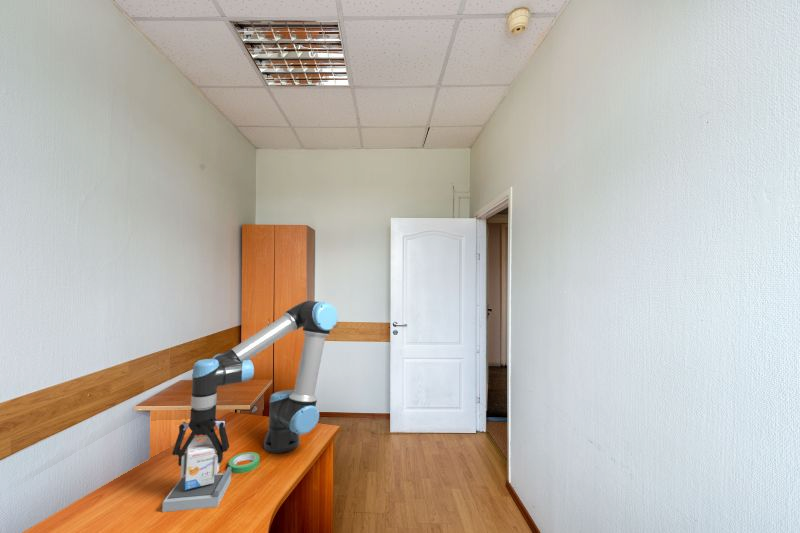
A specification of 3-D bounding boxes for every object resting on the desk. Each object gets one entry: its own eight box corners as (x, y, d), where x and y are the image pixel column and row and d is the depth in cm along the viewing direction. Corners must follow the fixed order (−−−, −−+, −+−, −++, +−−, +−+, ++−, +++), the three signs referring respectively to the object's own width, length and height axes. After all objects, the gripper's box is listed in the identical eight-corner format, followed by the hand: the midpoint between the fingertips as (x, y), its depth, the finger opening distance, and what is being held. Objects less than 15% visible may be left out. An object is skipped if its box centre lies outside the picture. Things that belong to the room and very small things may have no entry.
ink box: (184, 491, 108) (187, 444, 109) (184, 483, 112) (187, 438, 113) (214, 483, 113) (216, 438, 113) (213, 475, 117) (215, 432, 117)
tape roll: (243, 477, 124) (244, 469, 124) (221, 470, 128) (222, 463, 128) (265, 462, 134) (265, 455, 134) (244, 456, 138) (244, 449, 138)
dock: (230, 480, 121) (231, 466, 121) (217, 506, 107) (218, 490, 107) (182, 484, 118) (183, 470, 118) (162, 512, 104) (163, 495, 104)
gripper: (241, 400, 119) (238, 464, 118) (173, 403, 115) (169, 469, 114) (235, 408, 112) (232, 477, 111) (162, 412, 108) (157, 482, 107)
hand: (200, 473), depth 113 cm, fingers closed on ink box, 9 cm apart
